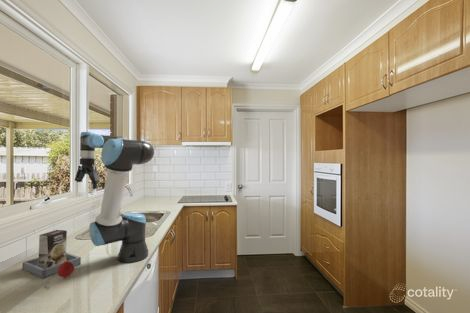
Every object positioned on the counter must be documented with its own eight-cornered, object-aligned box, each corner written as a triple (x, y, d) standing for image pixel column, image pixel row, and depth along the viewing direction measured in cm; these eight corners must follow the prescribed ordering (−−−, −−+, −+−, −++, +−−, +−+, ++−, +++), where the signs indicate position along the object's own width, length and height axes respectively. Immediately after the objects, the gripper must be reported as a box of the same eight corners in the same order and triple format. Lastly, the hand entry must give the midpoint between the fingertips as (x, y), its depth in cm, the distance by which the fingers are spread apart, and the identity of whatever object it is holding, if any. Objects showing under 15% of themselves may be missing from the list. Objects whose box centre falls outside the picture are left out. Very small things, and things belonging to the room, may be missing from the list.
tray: (80, 264, 117) (80, 257, 117) (42, 278, 103) (43, 270, 103) (60, 257, 125) (60, 250, 125) (22, 269, 111) (22, 262, 111)
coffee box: (48, 271, 109) (49, 236, 109) (37, 269, 110) (38, 234, 111) (66, 262, 118) (67, 230, 118) (56, 261, 119) (57, 229, 119)
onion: (71, 273, 108) (71, 256, 108) (75, 277, 104) (76, 259, 104) (55, 278, 103) (56, 260, 103) (59, 283, 100) (60, 264, 100)
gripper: (106, 158, 138) (106, 194, 138) (81, 157, 150) (80, 191, 149) (94, 158, 132) (93, 196, 131) (68, 157, 143) (67, 192, 143)
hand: (86, 193), depth 140 cm, fingers open, 13 cm apart
